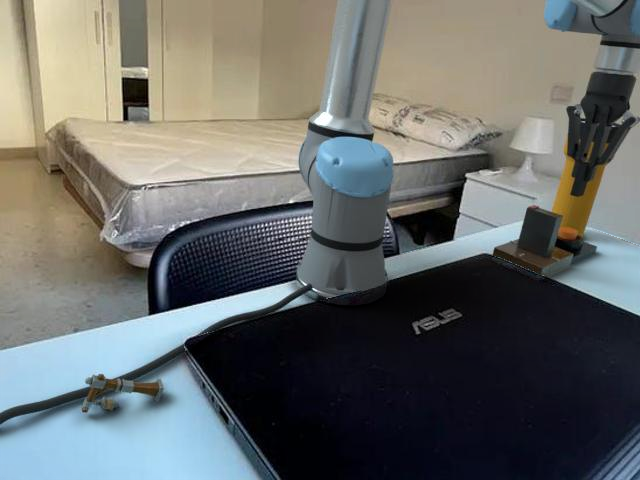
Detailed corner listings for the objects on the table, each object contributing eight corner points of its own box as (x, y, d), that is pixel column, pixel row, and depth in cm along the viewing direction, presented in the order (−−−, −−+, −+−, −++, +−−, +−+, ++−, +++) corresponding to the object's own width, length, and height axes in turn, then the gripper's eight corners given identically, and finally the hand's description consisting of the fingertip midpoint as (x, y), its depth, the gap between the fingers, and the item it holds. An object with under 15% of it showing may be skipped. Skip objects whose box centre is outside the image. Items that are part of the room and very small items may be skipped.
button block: (570, 265, 99) (575, 249, 98) (529, 248, 105) (533, 233, 104) (595, 253, 106) (600, 238, 104) (554, 238, 112) (558, 224, 111)
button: (570, 242, 102) (573, 234, 101) (553, 236, 104) (556, 228, 104) (578, 239, 104) (581, 231, 103) (562, 233, 107) (564, 225, 106)
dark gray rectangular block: (551, 255, 95) (563, 214, 92) (545, 257, 94) (557, 216, 90) (523, 243, 99) (533, 204, 96) (516, 245, 98) (527, 206, 95)
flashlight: (566, 114, 111) (613, 119, 109) (536, 223, 121) (579, 228, 120) (580, 121, 101) (632, 127, 100) (547, 238, 112) (594, 244, 110)
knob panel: (538, 282, 90) (543, 267, 89) (490, 261, 98) (493, 246, 96) (570, 267, 98) (574, 253, 96) (522, 248, 105) (526, 235, 104)
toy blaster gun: (71, 404, 52) (87, 368, 51) (146, 409, 57) (161, 376, 56) (73, 416, 51) (89, 378, 50) (149, 420, 55) (165, 386, 55)
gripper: (661, 77, 89) (617, 202, 98) (588, 68, 98) (554, 183, 107) (645, 77, 85) (601, 207, 94) (570, 67, 94) (537, 188, 103)
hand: (576, 195), depth 101 cm, fingers closed
